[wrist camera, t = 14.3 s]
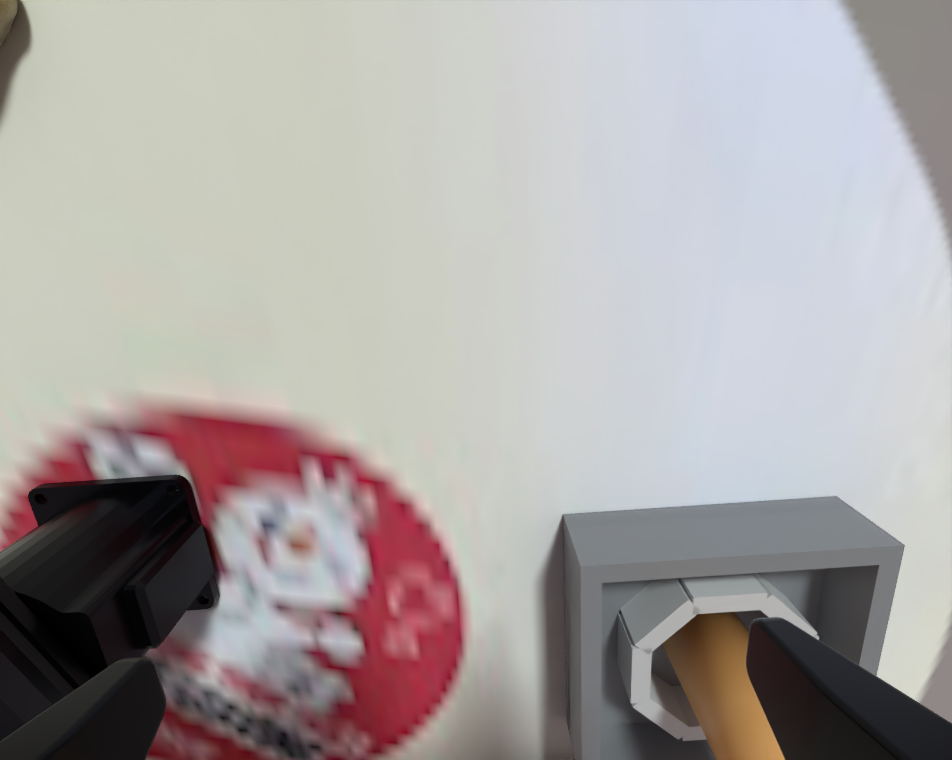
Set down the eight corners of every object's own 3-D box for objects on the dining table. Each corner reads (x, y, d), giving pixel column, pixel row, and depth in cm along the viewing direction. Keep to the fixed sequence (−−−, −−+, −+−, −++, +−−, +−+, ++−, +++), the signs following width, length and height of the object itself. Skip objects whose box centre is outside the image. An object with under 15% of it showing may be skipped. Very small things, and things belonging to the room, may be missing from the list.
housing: (566, 719, 25) (582, 795, 22) (563, 514, 22) (580, 566, 18) (802, 705, 25) (853, 778, 22) (836, 496, 21) (904, 545, 18)
